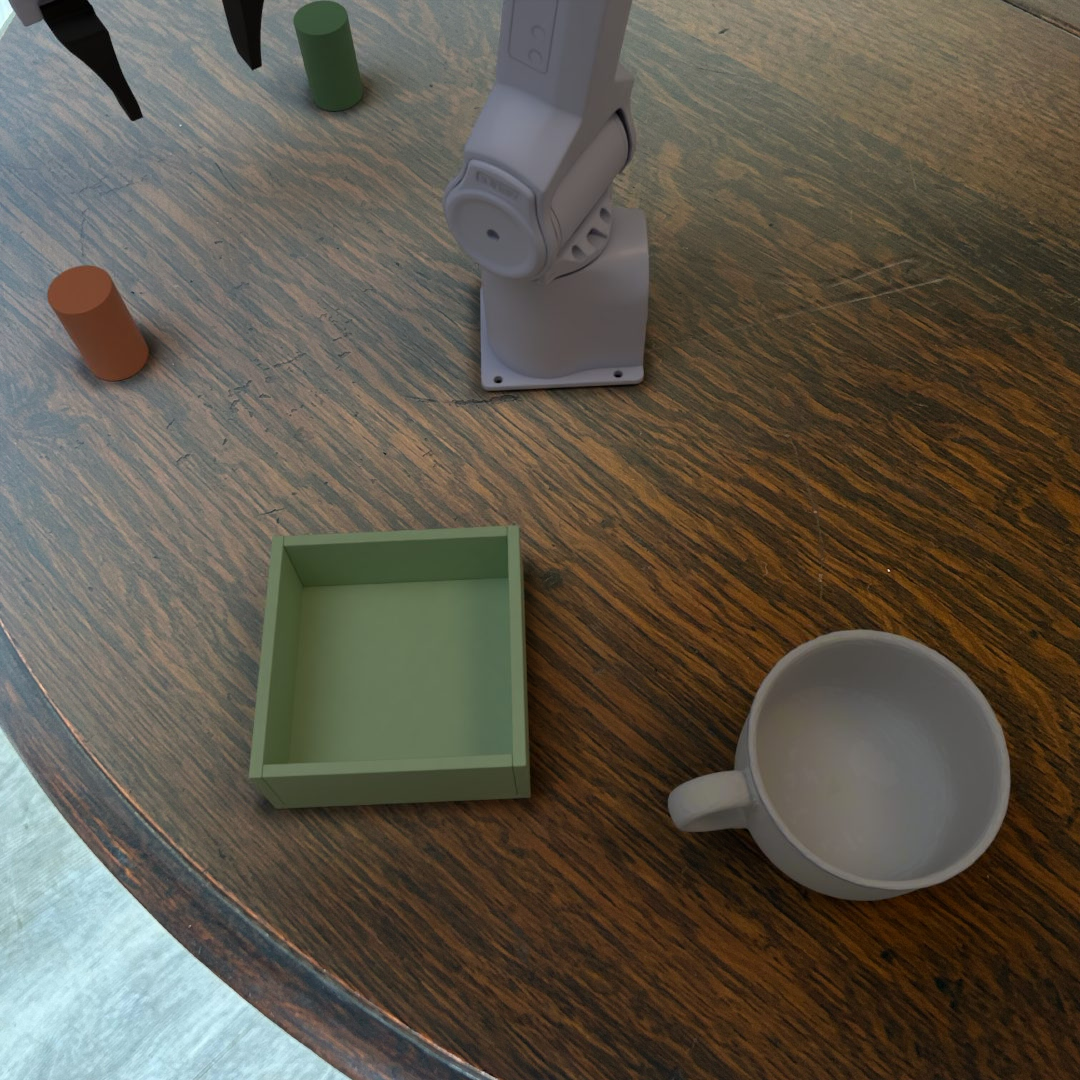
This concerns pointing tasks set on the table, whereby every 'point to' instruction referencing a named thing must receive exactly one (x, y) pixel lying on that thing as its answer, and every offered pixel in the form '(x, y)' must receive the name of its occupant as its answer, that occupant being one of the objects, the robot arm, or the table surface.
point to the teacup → (861, 769)
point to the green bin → (393, 669)
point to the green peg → (328, 55)
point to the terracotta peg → (98, 322)
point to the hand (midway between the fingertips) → (191, 84)
